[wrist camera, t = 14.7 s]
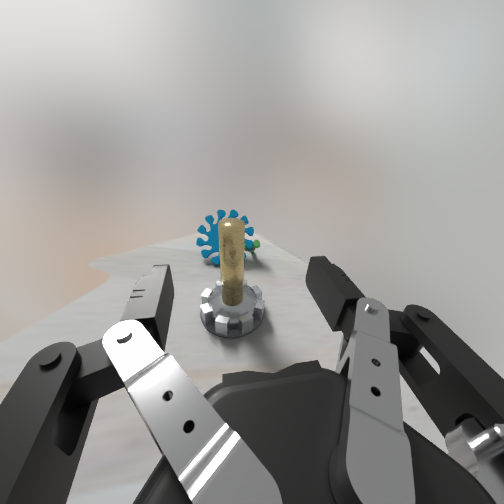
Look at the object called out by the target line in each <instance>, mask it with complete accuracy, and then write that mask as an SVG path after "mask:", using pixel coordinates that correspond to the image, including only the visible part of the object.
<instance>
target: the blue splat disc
mask: <svg viewBox="0 0 504 504" xmlns="http://www.w3.org/2000/svg"><path fill="white" fill-rule="evenodd" d="M217 213H218V221H217V223H216V224H214V225H213V221H214V218H213V217H212V216H211V215H210V216H207V217H206V218H205V220H206V221H207V222H208V223H209V224H210V227H211V230H210V231H209V232H206V228H205V227H204V226H203V225H201V226H200V227H199V228H198V232H199V233H201V234H205V235H207V236H208V237H209V239H208V241H206V242H205V241H204V240H203V239H202V238H198V239H197V245H198V246H203V245H209V246H212V249H211V250H209V251H208V250H202V251H201V253H202V256H203V257H204V258H208V257H209V255H210V254H212V253H214V252H219V256H217V257H213V258H212V260H211V261H212V262H213V263H214V264H216V265H219V264H220V251H219V232H218V222H219V221H220V220H222V218H223V217H224V216H225V211H224V210H218V211H217ZM236 217H238V213H237V211H235V210H231V212H230V216H229V217H228V218H236ZM241 220H243V221H244V223H245V225H246V224H248V219H247V217H246V216H243V217H242V218H241ZM245 232H246V233H247V234H248V235H249V236H253V233H254V229H253V227H249V228H245ZM259 247H260V242H259V241H258V240H255V241H254V242H253V241H251V240H247V239H245V238H244V250H246V251H249V252H254V250H255V248H259ZM245 257H246V254H245V253H244V258H245Z"/></svg>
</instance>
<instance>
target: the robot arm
mask: <svg viewBox="0 0 504 504" xmlns="http://www.w3.org/2000/svg"><path fill="white" fill-rule="evenodd" d="M306 285H307V288H308V290H309V291H310V293H311V295H312V296H313V298H314V300H315V302H316V303H317V305H318V307H319V308H320V310H321V312H322V314H323V315H324V317H325V319H326V321H327V322H328V324H329V326H330V327H331V329H332V331H333V332H335V331H342V332H343V336H342V339H341V344H340V350H339V355H338V361H337V366H336V370H335V372H334V371H332V370H329V369H325V368H321V366H320V364H319V362H318V360H315V361H309V362H302V363H296V364H293V365H291V366H289V367H287V368H285V369H283V370H281V371H278V372H276V373H263V372H255V371H242V372H235V373H228V374H222V377H223V382H222V383H220V384H218V385H216V386H214V387H213V388H211V389H210V390H209V391H207V392H206V393H205V394H204V395H202V393H201V392H200V391H199V390H198V388H197V387H196V386H195V385H194V383H193V382H192V381H191V380H190V379H189V377H188V376H187V375H186V374H185V372H184V371H183V370H182V369H181V367H180V366H179V365H178V364H177V362H176V361H175V360H174V359H173V357H172V356H171V355H170V354H168V353H167V354H164V353H163V352H164V351H165V345H166V339H167V334H168V328H169V322H170V316H171V311H172V305H173V299H174V286H173V281H172V276H171V270H170V266H169V265H154V266H153V268H152V271H151V274H150V275H146V276H142V277H141V278H140V279H139V280H138V281H137V282H136V284H135V286H134V288H133V292H132V293H131V296H130V298H129V301H128V303H127V306H126V308H125V310H124V313H123V315H122V318H121V320H120V323H119V324H116V325H115V326H113V327H112V328H111V329H109V330H108V331H107V333H106V334H105V336H104V338H102V339H100V340H98V341H95V342H92V343H89V344H87V345H84V346H81V347H78V348H76V347H75V345H74V344H73V343H70V342H59V343H55V344H52V345H50V346H48V347H46V348H44V349H42V350H41V351H39V352H38V353H36V354H35V355H34V356H33V357H32V358H31V359H30V360H29V361H28V363H27V364H26V366H25V367H24V369H23V370H22V372H21V374H20V375H19V377H18V378H17V380H16V381H15V383H14V384H13V386H12V388H11V389H10V391H9V392H8V394H7V395H6V397H5V398H4V400H3V402H2V403H1V405H0V504H66V502H67V498H68V495H69V492H70V489H71V486H72V482H73V479H74V476H75V473H76V470H77V467H78V463H79V460H80V457H81V454H82V451H83V448H84V444H85V441H86V438H87V435H88V432H89V428H90V425H91V422H92V419H93V416H94V413H95V409H96V406H97V403H98V400H99V398H101V397H103V396H105V395H108V394H110V393H112V392H114V391H116V390H119V389H121V388H123V387H125V389H126V391H127V392H128V394H129V396H130V398H131V400H132V401H133V403H134V405H135V407H136V409H137V410H138V412H139V414H140V416H141V418H142V419H143V421H144V423H145V425H146V427H147V429H148V431H149V432H150V434H151V436H152V438H153V440H154V442H155V443H156V445H157V447H158V449H159V451H160V452H161V454H162V458H161V460H160V461H159V463H158V464H157V466H156V467H155V469H154V471H153V472H152V474H151V475H150V477H149V478H148V480H147V482H146V483H145V485H144V486H143V488H142V490H141V491H140V493H139V494H138V496H137V497H136V499H135V501H134V502H133V504H504V379H503V378H501V376H500V375H499V374H497V373H496V372H495V371H494V370H493V369H492V368H491V367H490V366H489V365H488V364H487V363H486V362H485V361H484V360H483V359H482V358H481V357H479V356H478V355H477V354H476V353H475V352H474V351H473V350H472V349H471V348H470V347H469V346H468V345H467V344H466V343H465V342H464V341H463V340H461V339H460V338H459V337H458V336H457V335H456V334H455V333H454V332H453V331H452V330H451V329H450V328H449V327H448V326H447V325H445V324H444V323H443V322H442V321H441V320H440V319H439V318H438V317H437V316H436V315H435V314H434V313H433V312H431V311H430V310H428V309H426V308H424V307H421V306H418V305H408V306H406V308H405V309H404V311H403V312H400V311H394V310H388V309H387V308H386V307H385V306H384V305H383V304H382V303H381V302H379V301H377V300H375V299H372V298H367V297H365V296H364V295H363V294H362V293H361V291H360V290H359V289H358V288H357V286H355V284H354V283H353V282H352V281H351V280H350V279H349V277H348V276H346V274H345V273H344V272H343V270H342V269H341V268H339V267H338V266H336V265H335V264H331V263H330V261H329V260H328V259H327V258H326V257H325V256H317V257H311V258H310V262H309V266H308V270H307V274H306ZM422 347H424V348H425V349H426V350H427V351H428V352H429V353H430V355H431V356H432V357H433V358H434V359H435V360H436V362H437V363H438V365H439V367H440V374H438V373H437V372H436V371H435V370H434V368H433V367H432V366H431V365H430V364H429V362H428V361H427V360H426V359H425V357H424V356H423V355H422V354H421V353H420V350H421V349H422ZM399 372H400V374H401V375H402V377H403V378H404V380H405V381H406V383H407V384H408V385H409V387H410V388H411V390H412V391H413V393H414V394H415V396H416V397H417V399H418V400H419V402H420V403H421V404H422V406H423V407H424V409H425V410H426V412H427V413H428V415H429V416H430V418H431V419H432V420H433V422H434V423H435V425H436V426H437V428H438V429H439V431H440V432H441V434H442V435H443V436H444V438H445V443H446V447H447V449H448V451H449V453H448V454H446V453H445V452H443V451H442V450H441V449H439V448H438V447H437V446H436V445H434V444H433V443H432V442H430V441H429V440H428V439H426V438H425V437H424V436H422V435H421V434H420V433H418V432H417V431H416V430H414V429H413V428H412V427H411V426H409V425H408V424H407V423H405V422H404V421H403V415H402V402H401V389H400V376H399Z"/></svg>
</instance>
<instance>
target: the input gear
mask: <svg viewBox="0 0 504 504" xmlns="http://www.w3.org/2000/svg"><path fill="white" fill-rule="evenodd" d="M218 232H219V251H220V270H221V280H220V281H217V282H215V283H216V288H215V289H213V290H211V289H207V288H206V289H205V291H204V292H203V294H202V295H201V298H202V305H200V307H201V315H202V319H203V321H204V323H205V325H208V324H211V323H214V324H215V329H216V333H218V334H222V335H226V336H228V334H229V331H230V329H239V330H240V332H241V334H242V335H243V334H245V333H247V332H249V331H251V330H253V319H255V320H259V321H261V320H262V316H263V313H264V302H265V301H263V300H262V291H261V290H260V289H259V287H258V286H257V285H256V286H253V287H251V288H250V287H249V286H247V280H244V233H245V223H244V221H243V220H241V219H237V218H226V219H222V220H220V221H219V222H218Z"/></svg>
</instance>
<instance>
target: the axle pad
mask: <svg viewBox="0 0 504 504" xmlns="http://www.w3.org/2000/svg"><path fill="white" fill-rule="evenodd" d="M263 315H264V313H263ZM262 319H263V316H262ZM201 320H202V323H203V324H204V326H205V327H206V328H207V329H208V330H209V331H210V332H212V333H213V334H216V335H218V336H221V337H228V338H233V337H240V336H244V335H246V334H249V333H250V332H252V331H253V330H255V329H256V328H257V327H258V326H259V325H260V323H261V321H262V320H261V321H259V320H255V319H253V330H251V331H249V332H247V333H245V334H243V335H242V334H241V332H240V330H239V329H230V331H229V334H228V336H226V335H222V334H218V333H216V329H215V324H214V323H211V324H208V325H205V323H204V321H203V319H202V315H201Z"/></svg>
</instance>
